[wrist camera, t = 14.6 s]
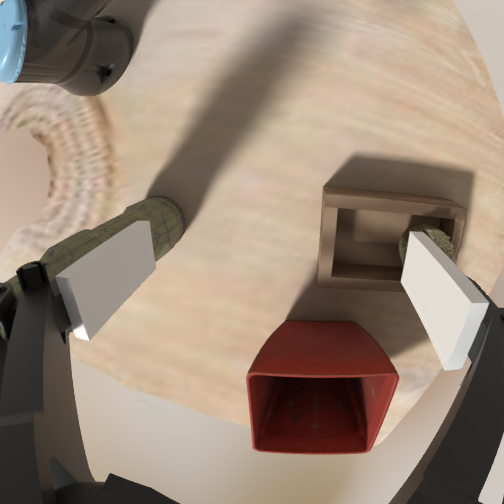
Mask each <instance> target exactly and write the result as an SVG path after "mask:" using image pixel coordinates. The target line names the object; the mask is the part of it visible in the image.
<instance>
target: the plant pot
mask: <svg viewBox="0 0 504 504" xmlns="http://www.w3.org/2000/svg"><path fill="white" fill-rule="evenodd" d="M398 381H399V375H398V373H397V371H396V369H395V367H394V366H393V364H392V362H391V361H390V359H389V358H388V356H387V355H386V353H385V352H384V351H383V349H382V348H381V347H380V345H379V344H378V343H377V342H376V341H375V340H374V339H373V338H372V337H371V335H369V334H368V333H367V332H366V331H365V330H364V329H363V328H362V327H361V326H359V325H358V324H357V323H355V322H352V321H285V322H284V323H282V324H281V325H280V326H279V327H278V328H277V329H276V330H275V331H274V332H273V333H272V335H271V336H270V337H269V338H268V339H267V341H266V342H265V344H264V345H263V347H262V348H261V349H260V351H259V353H258V354H257V356H256V358H255V360H254V362H253V363H252V365H251V367H250V369H249V371H248V374H247V376H246V384H247V393H248V402H249V411H250V422H251V434H252V447H253V449H254V450H256V451H259V452H269V453H285V454H325V455H326V454H328V455H329V454H359V453H366V452H368V451H370V450H371V448H372V446H373V444H374V442H375V440H376V438H377V435H378V433H379V430H380V428H381V426H382V423H383V421H384V418H385V416H386V413H387V411H388V408H389V406H390V403H391V400H392V398H393V395H394V392H395V390H396V387H397V384H398Z"/></svg>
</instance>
